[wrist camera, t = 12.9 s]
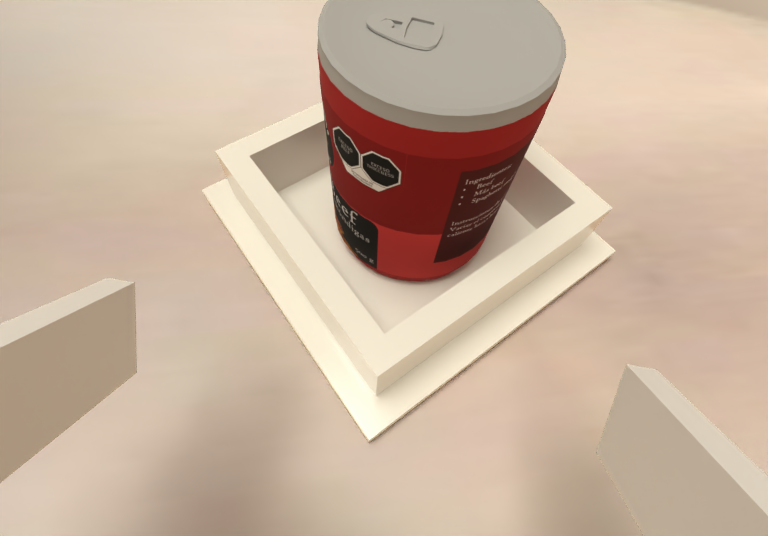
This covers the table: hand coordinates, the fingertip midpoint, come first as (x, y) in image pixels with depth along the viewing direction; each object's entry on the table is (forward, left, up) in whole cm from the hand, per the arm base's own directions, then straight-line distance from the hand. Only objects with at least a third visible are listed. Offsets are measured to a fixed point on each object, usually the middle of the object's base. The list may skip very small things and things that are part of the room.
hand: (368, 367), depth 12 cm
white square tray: (-7, +7, -9) cm, 14 cm away
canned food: (-7, +8, -8) cm, 13 cm away
